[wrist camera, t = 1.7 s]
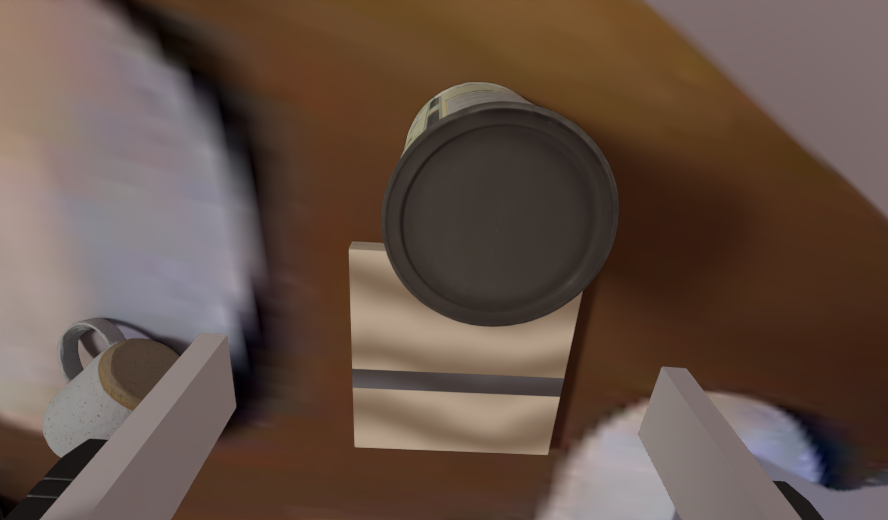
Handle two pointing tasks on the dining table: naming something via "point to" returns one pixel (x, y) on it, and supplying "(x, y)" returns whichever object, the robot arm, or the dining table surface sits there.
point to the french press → (2, 511)
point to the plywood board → (449, 370)
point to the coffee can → (497, 208)
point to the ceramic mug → (101, 385)
